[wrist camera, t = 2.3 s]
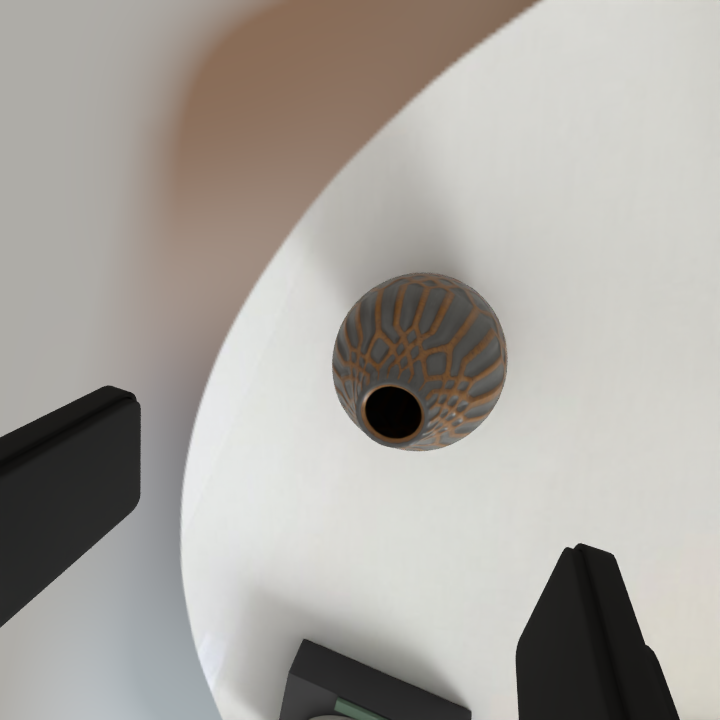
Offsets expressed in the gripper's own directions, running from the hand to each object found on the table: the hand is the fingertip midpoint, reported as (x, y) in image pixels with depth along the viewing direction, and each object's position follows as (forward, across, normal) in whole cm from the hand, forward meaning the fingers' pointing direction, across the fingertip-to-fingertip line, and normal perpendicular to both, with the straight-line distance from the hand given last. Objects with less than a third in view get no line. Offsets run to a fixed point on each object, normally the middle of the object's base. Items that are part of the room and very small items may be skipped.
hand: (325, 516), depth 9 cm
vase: (+14, -1, 0) cm, 14 cm away
